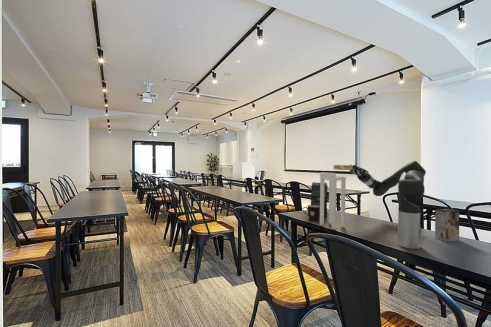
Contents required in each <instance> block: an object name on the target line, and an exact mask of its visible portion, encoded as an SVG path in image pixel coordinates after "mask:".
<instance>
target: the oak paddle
mask: <svg viewBox="0 0 491 327" xmlns="http://www.w3.org/2000/svg"><path fill="white" fill-rule="evenodd" d="M352 166H353V165H352V164H333V167H332V168H333V170H335V171H336V170H338V171H350V170H355V169H354V168H353V167H352ZM358 167H359V168H361V167H360V166H358Z"/></svg>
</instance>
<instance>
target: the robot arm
mask: <svg viewBox="0 0 491 327" xmlns="http://www.w3.org/2000/svg"><path fill="white" fill-rule="evenodd" d="M352 167H353V168H354V169H355V170H349V173H350V175H353V174H354V175H355V176H357V179H358V180H359V181H360V182H361V183H363V184H364V185H365V186H367V188H369V189H372V194H373V196H376V197H382V196H384V195H385V194H386V193H387V192H388V191H389V190H390V189H392V188H394V187H396V186H397V187H398V188H397V191H398V194H397V195H398V213H397V214H398V215H397V218H398V220H397V245H398V246H399V247H402V248H405V249H406V248H407V249H411V250H419V249H420V248H421V247H422V245H421V244H422V227H421V207H420V206H419V205H416V204H414V203H412V202H410V201H408V200H407V199H421V198H423V197H424V195H425V184H424V182H425V175H426V173H427V172H426V169H425V168H424V167H423V166H422V165H421V164H420V163H419V162H418V161H417V160H413V161H410V162H408V163H406V164H405V165H403V166H402V167H401V168H399V169H398V170H397V171H395V172H394V173H393V174H391V175H390V176H389V177H387V178H385V179H383V180H381V181H379V180H377V179H375V178H374V177H373V176H372V174H370V173H369V171H368V170H367V169H364V168H362V167H360V166H357V165H356V164H353V165H352ZM359 167H360V168H359ZM404 173H405V175H404V178H402V179H401V177H402V175H403V174H404Z"/></svg>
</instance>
